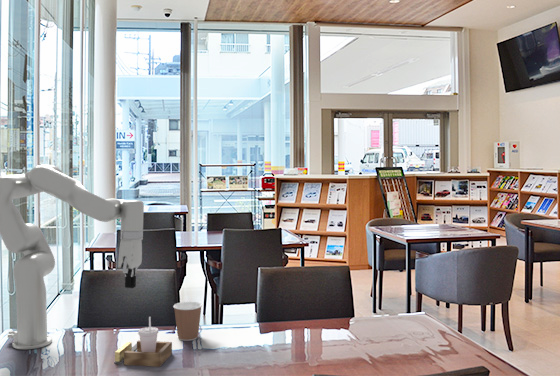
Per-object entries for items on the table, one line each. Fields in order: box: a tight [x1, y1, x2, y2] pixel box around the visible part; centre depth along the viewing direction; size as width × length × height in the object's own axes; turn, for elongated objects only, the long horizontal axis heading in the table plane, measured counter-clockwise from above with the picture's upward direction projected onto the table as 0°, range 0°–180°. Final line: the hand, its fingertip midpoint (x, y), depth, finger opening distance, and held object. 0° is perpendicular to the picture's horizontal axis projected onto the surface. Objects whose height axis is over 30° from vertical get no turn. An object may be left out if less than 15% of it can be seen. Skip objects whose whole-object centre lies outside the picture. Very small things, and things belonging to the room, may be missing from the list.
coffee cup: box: [172, 301, 203, 342], centre depth 196 cm, size 10×10×12 cm
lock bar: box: [114, 341, 133, 362], centre depth 176 cm, size 2×10×3 cm, turn 172°
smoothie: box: [137, 316, 159, 352], centre depth 174 cm, size 6×6×14 cm
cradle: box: [113, 339, 173, 368], centre depth 179 cm, size 15×20×4 cm
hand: (130, 287), depth 189 cm, fingers closed
